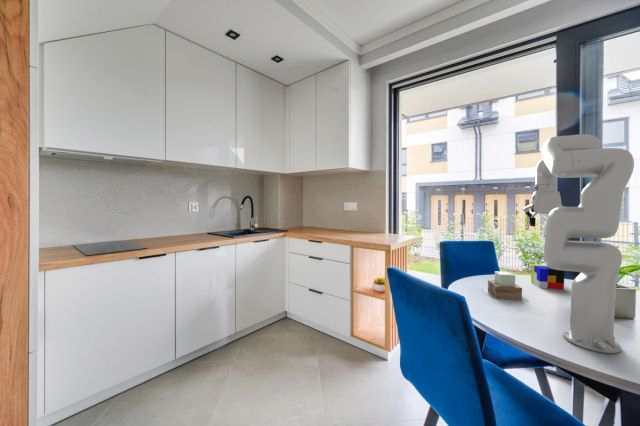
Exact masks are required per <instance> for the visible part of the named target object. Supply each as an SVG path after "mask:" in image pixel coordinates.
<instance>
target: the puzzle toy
mask: <svg viewBox="0 0 640 426" xmlns="http://www.w3.org/2000/svg"><path fill="white" fill-rule="evenodd" d="M530 270H531V271H530V274H531V275H530V282H531V284H533V285H535V287H537V288H539V289H551V290H562V291H564V290H565V273H566V271H564V270H555V269H552V268H549V267H548V266H547V265H546V264H541V263H540V264H538V263H531V269H530Z"/></svg>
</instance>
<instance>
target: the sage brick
mask: <svg viewBox="0 0 640 426" xmlns="http://www.w3.org/2000/svg"><path fill="white" fill-rule="evenodd" d="M494 280H495V281H494V282H496V283H497V284H498V285H500V286H515V284H516V274H514V273H512V272H510V271H497V270H496V271H495V270H494Z"/></svg>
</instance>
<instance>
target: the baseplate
mask: <svg viewBox="0 0 640 426" xmlns="http://www.w3.org/2000/svg"><path fill="white" fill-rule="evenodd" d="M482 291H483V292H485V293H486V294H487V295H488V296H489V297H490V299H492V300H504V301H515V302H525V303H527V302H530V301H529V300H528V299H527V298H525V297H524V296H522V300H521V299H508V298H496V297H495V296H494V295H492V294H491V293H490V292H489V291H488V288H482Z"/></svg>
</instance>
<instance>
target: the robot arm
mask: <svg viewBox="0 0 640 426" xmlns="http://www.w3.org/2000/svg"><path fill="white" fill-rule="evenodd" d="M601 146H602V144H601V140H600V139H599V138H598V137H597V136H595V135H593V134H586V133H585V134H583V133H582V134H572V135H571V134H569V135H559V136H553V137H551V138H550V137H549V138H548V139H547V140H546V141H545V142H544V143H543V145H542V148H541V157H542V159H540V160H539V161H538V162H537V163H536V165H535V182H534V184H535V185H534V186H532V187H531V189H532V190H534V191H533V193H532V196H531V203H530V204H528V205H527V206H525V207H523V208H522V210H523V212H524V214H525V215H527V217H528V224H529V226H530V227H536V216H537V215H538V214H541V215H542V214H543V215H544V214H546V215H547V218H546V223H545V224H546V225H545V226H546V227H545V234H544V245H543V246H544V247H543V248H544V249H543V258H544V259H543V260H544V263H545V265H547V266H548V267H549V268H552V269H555V270H564V271H565V272H567V271H568V272H578V273H579V274H578V275H577V276H576V277H575V278H574V279H573V281H572V283H571V287H570V288H571V291H570V317H569V318H570V319H569V321H570V322H569V329H566V330H564V331H563V334H562V335H563V337H564V338H565V340H566V341H568V342H570V343H571V344H573V345H576V346H578V347H580V348H583V349H586V350H589V351H593V352H598V353H603V354H618V353H620V352H621V350H622V346H621V344H619V343H618V342H617V341H616V337H615V336H614V332H615V331H614V330H615V312H616V311H615V309H616V293H617V291H616V290H617V282H618V277H619V274H620V269H621V266H622V262H623V255H622V252H621V250H620V249H619V248H618V247H616V246H615V245H613V244H611V243H608V242H604V241H602V242H601V241H588V240H587V241H586V240H585V241H584V240H569V239H570V238H576V239H577V238H579V239H580V238H581V239H608V238H610V239H611V238H612V237H614V236H615V235H616V234H617V233H618V229H619V227H620V226H619V224H620V219H621V211H622V203H623V197H624V196H623V195H624V192H625V189H626V187H627V185H628V183H629V181H630V179H631V177H632V175H633V173H634V168H635V160H634V157H633V155H632V153H631V152H630V151H629V150H627V149H624V148H615V147H614V148H613V147H605V148H604V147H602V148H601ZM594 177H595V178H594ZM558 178H562V179H567V178H568V179H569V178H571V179H572V178H574V179H575V178H593V179H592V180H591V181H590V182H588V183H587V184H586V186H585V187H584V188H583V189H582V190H581V192H580V193H581V194H580V200H579V205H578V206H565V205H562V198H561V197H562V196H561V194H560V193H561V192H560V191H558ZM529 210H530V211H529Z"/></svg>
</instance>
